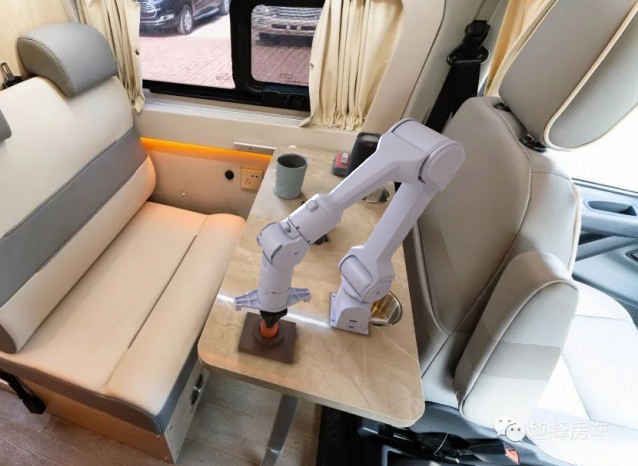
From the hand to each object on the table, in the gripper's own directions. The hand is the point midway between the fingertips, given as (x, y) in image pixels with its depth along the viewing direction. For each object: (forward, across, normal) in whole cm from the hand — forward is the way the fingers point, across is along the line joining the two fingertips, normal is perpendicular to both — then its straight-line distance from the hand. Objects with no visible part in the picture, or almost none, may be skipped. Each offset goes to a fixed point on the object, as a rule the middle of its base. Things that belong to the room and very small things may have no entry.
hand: (268, 323), depth 68 cm
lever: (+1, -20, -29) cm, 35 cm away
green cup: (+5, -20, -53) cm, 57 cm away
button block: (+5, 0, 0) cm, 5 cm away
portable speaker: (+5, -44, -50) cm, 67 cm away
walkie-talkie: (+5, -48, -67) cm, 82 cm away
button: (+2, 0, 0) cm, 2 cm away
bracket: (+5, -20, -32) cm, 38 cm away
